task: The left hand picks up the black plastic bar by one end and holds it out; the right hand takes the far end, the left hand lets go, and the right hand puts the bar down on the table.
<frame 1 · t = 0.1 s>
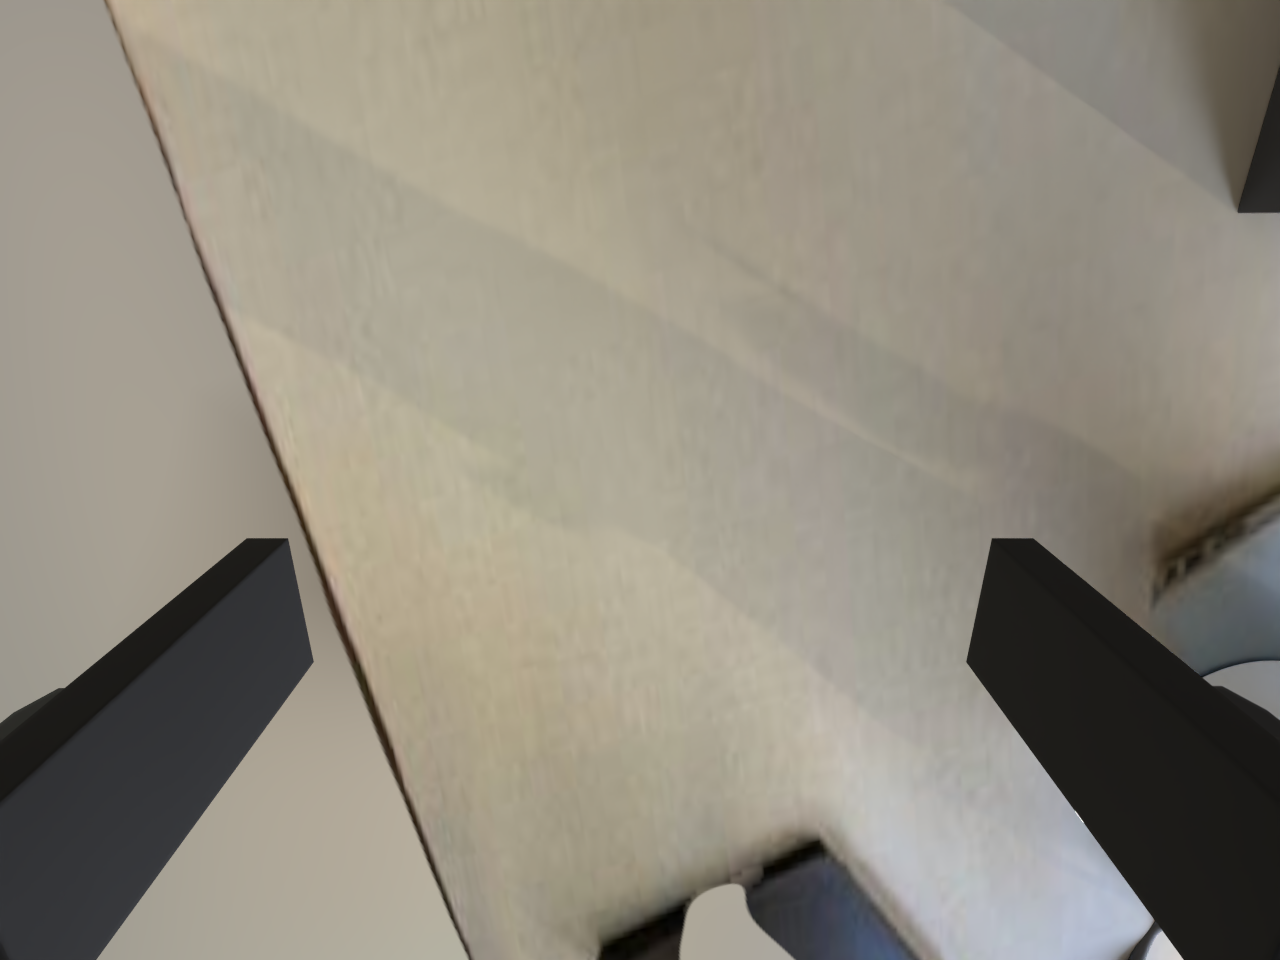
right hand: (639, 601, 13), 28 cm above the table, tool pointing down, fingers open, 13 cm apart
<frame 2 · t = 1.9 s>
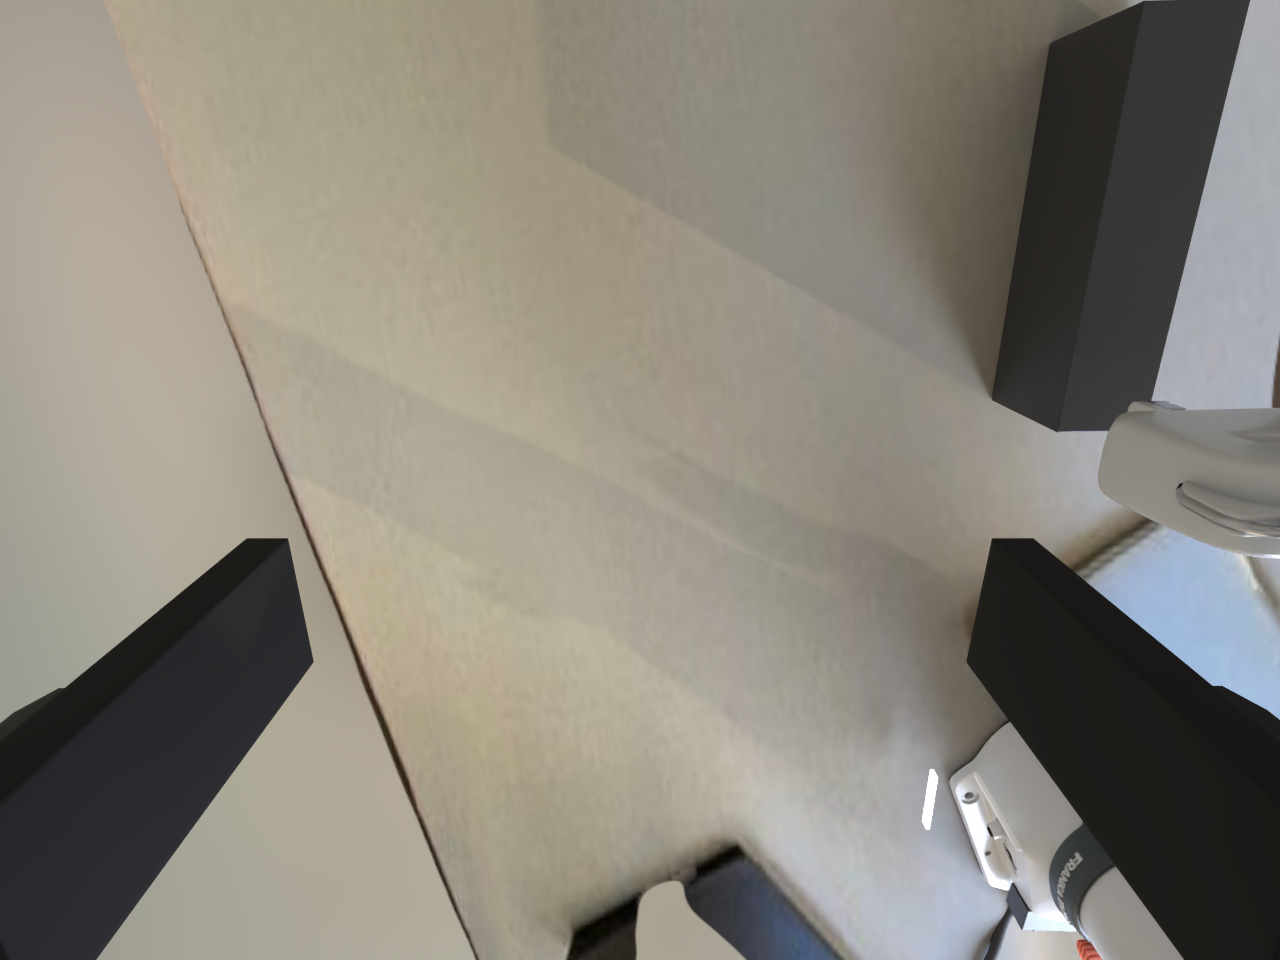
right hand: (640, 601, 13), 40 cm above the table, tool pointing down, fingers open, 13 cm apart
bar: (1058, 235, 48), on the table
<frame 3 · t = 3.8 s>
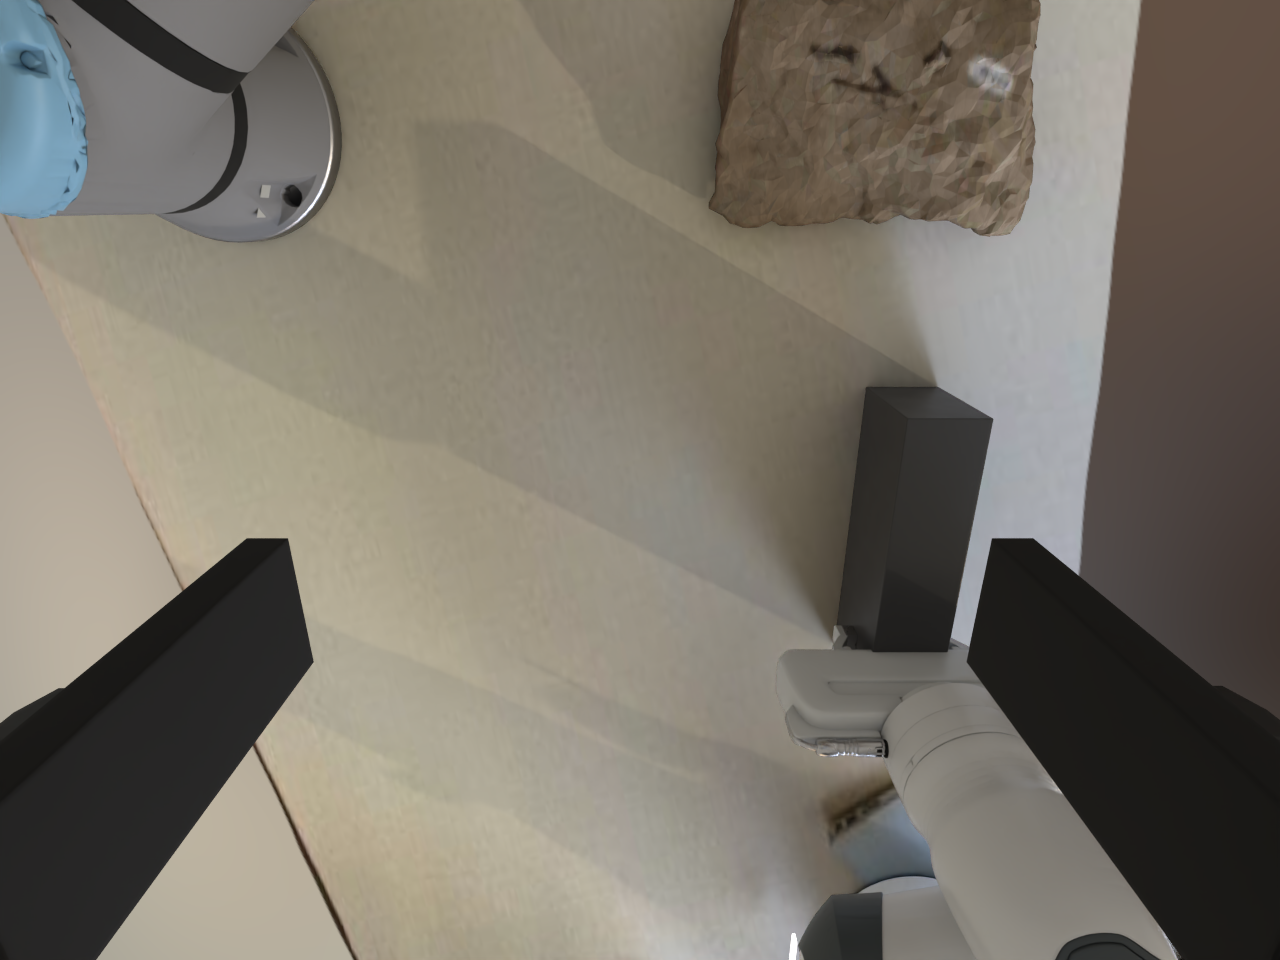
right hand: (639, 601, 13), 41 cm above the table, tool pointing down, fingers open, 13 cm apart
bar: (882, 525, 57), on the table, touching left hand
stone: (862, 122, 46), on the table
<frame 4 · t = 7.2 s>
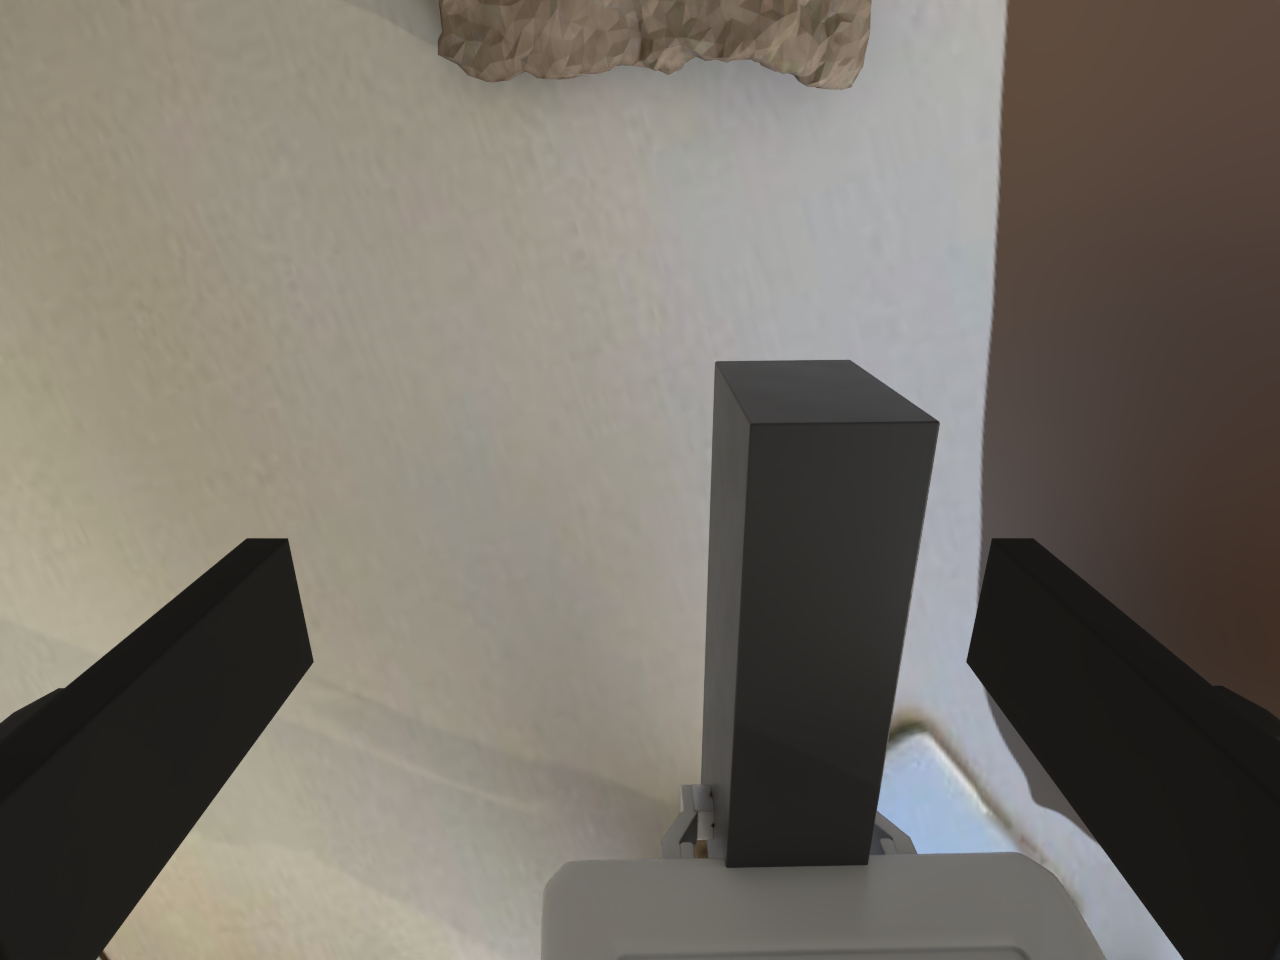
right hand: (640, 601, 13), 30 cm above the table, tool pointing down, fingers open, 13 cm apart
bar: (765, 605, 33), point 13 cm above the table, touching left hand
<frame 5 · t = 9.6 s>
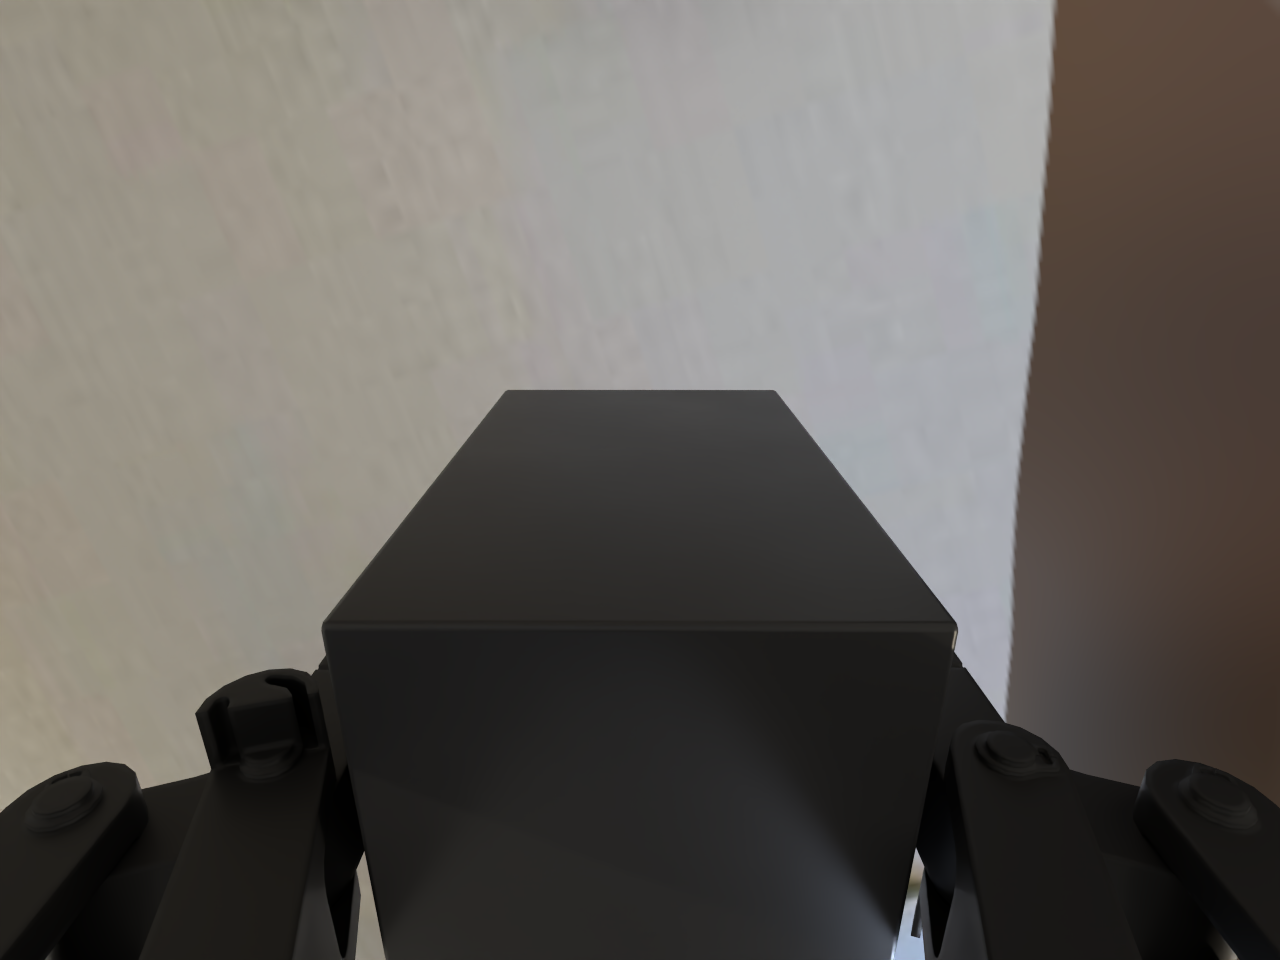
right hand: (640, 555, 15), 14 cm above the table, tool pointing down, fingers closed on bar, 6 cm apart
bar: (640, 819, 18), point 13 cm above the table, touching right hand, left hand
when the left hand's fingers open (17 cm above the table, at t = 10.6 s): bar stays where it is, held by the right hand.
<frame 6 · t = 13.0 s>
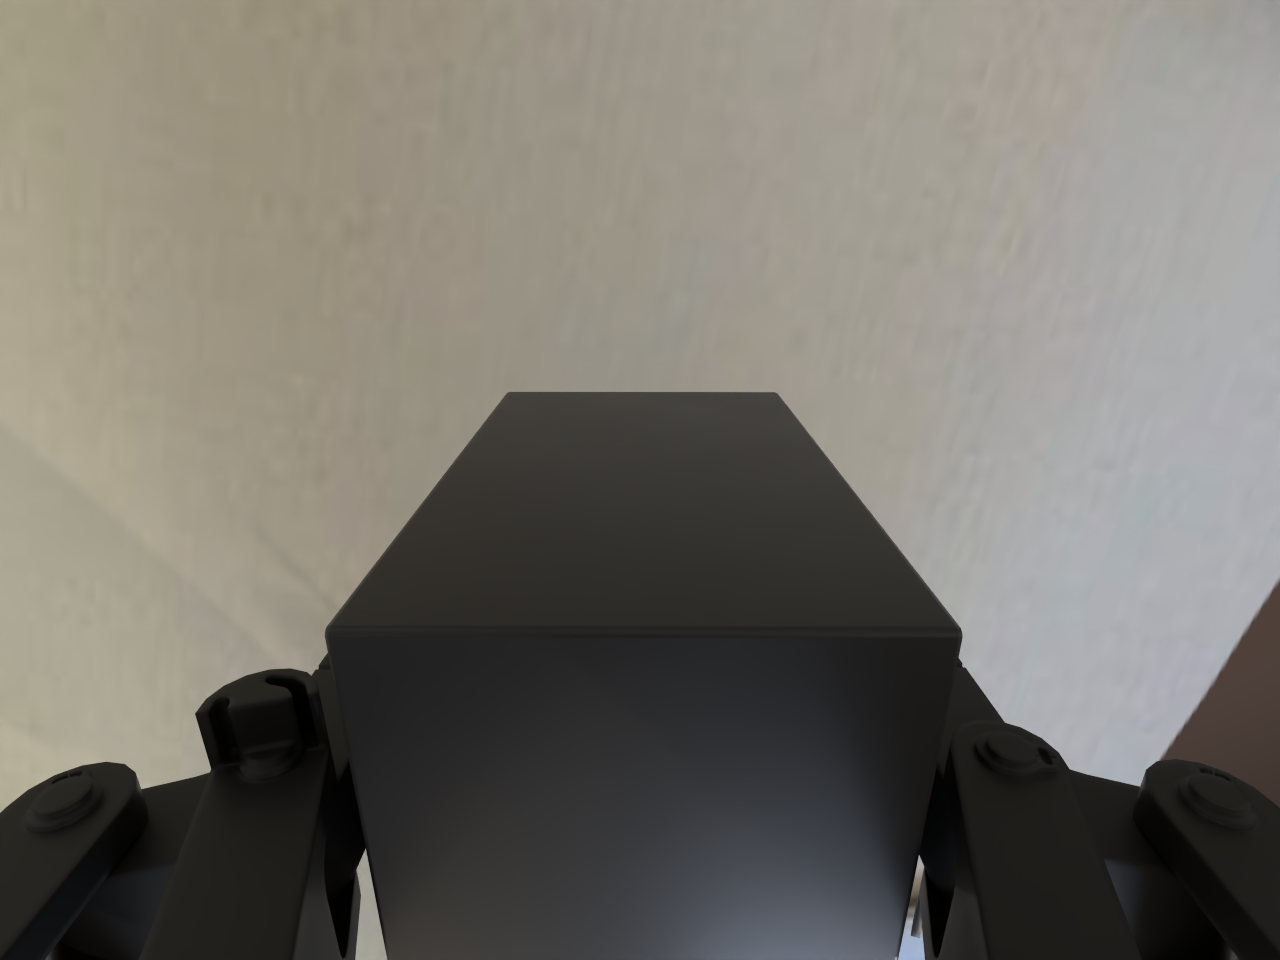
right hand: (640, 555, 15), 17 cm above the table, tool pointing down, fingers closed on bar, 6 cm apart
bar: (641, 821, 18), point 16 cm above the table, touching right hand
when the right hand's fingers open (2 cm above the table, at t = 16.2 s): bar drops 1 cm, on the table.
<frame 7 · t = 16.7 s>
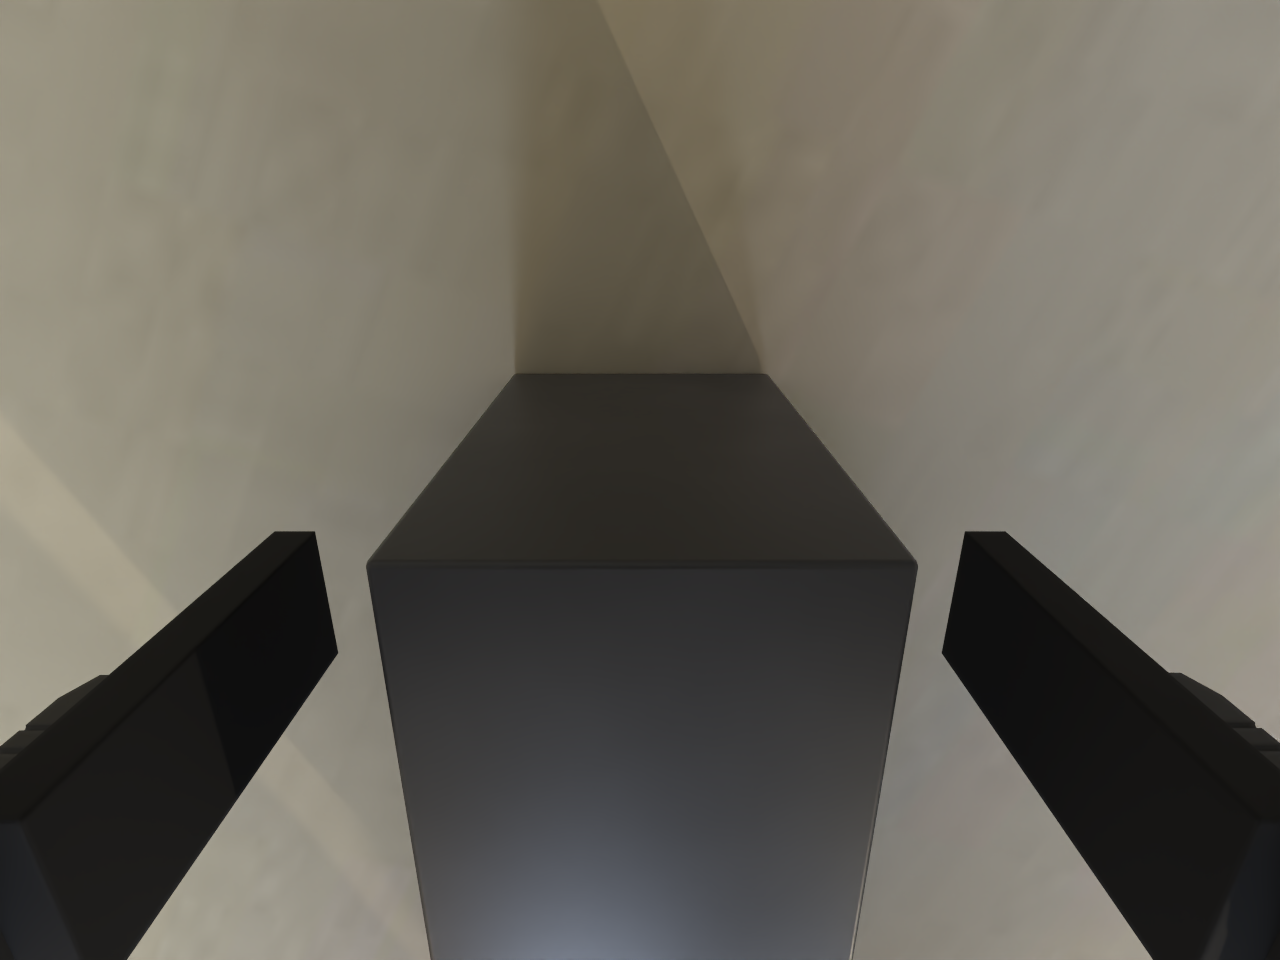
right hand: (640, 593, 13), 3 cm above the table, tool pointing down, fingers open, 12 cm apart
bar: (640, 785, 19), on the table
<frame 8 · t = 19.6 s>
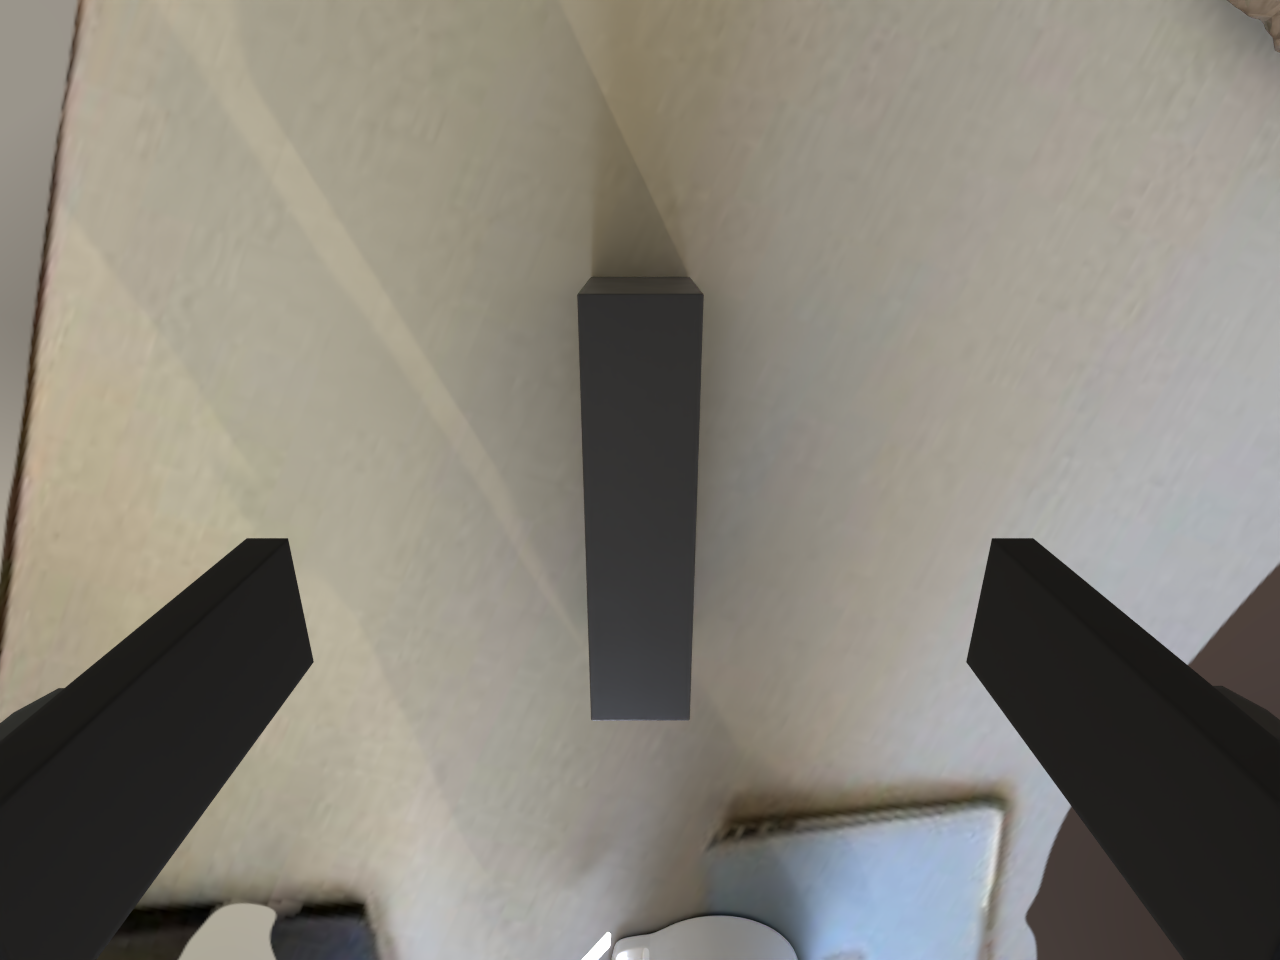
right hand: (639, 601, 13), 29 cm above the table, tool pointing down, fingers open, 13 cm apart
bar: (640, 472, 43), on the table
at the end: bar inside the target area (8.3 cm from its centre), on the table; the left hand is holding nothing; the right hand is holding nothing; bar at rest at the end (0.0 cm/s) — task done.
